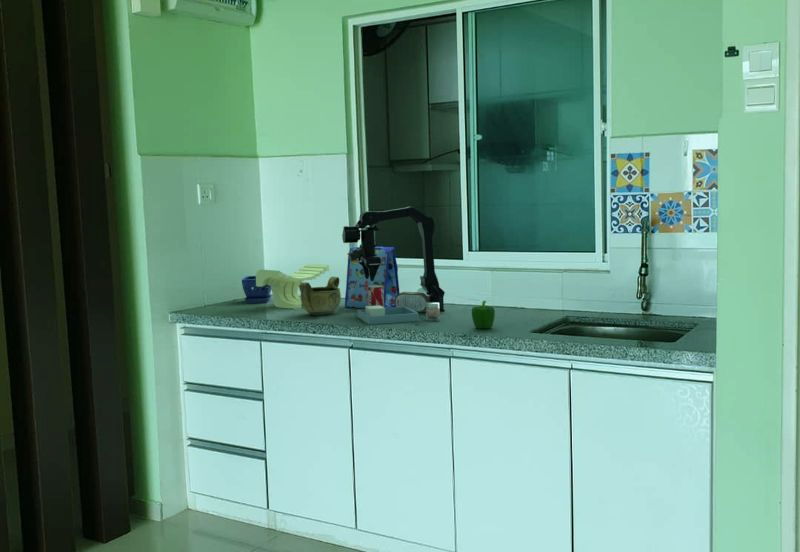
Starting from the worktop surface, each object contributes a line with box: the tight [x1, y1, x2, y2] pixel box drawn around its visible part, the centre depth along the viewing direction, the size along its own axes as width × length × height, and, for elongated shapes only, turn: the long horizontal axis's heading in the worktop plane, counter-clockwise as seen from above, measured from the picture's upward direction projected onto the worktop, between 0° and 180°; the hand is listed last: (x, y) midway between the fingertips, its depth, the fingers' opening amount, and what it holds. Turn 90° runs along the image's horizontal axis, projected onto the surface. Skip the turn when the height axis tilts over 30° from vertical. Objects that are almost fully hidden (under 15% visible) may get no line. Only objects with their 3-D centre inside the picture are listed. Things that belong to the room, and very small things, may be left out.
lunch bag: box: [344, 242, 401, 309], centre depth 364 cm, size 22×14×29 cm, turn 58°
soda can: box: [367, 285, 384, 307], centre depth 342 cm, size 7×7×12 cm
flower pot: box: [241, 275, 272, 304], centre depth 393 cm, size 13×13×12 cm
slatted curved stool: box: [255, 263, 330, 310], centre depth 375 cm, size 30×16×18 cm, turn 139°
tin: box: [395, 291, 430, 313], centre depth 347 cm, size 15×3×8 cm, turn 69°
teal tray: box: [356, 306, 420, 325], centre depth 327 cm, size 20×20×4 cm
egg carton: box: [364, 305, 385, 316], centre depth 326 cm, size 6×8×5 cm
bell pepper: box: [471, 300, 496, 330], centre depth 302 cm, size 8×8×10 cm
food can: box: [425, 302, 441, 323], centre depth 322 cm, size 5×5×7 cm
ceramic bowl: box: [298, 276, 342, 317], centre depth 346 cm, size 22×17×15 cm
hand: (369, 279), depth 340 cm, fingers open, 9 cm apart
